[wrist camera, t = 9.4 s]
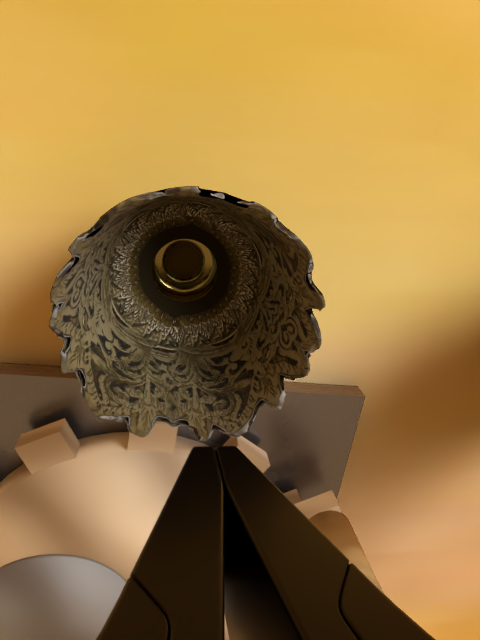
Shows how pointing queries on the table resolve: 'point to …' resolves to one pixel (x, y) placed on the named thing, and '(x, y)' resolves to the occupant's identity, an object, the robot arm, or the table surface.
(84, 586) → the index wheel
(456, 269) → the table surface
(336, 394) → the base plate
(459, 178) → the table surface
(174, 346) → the cup
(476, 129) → the table surface
